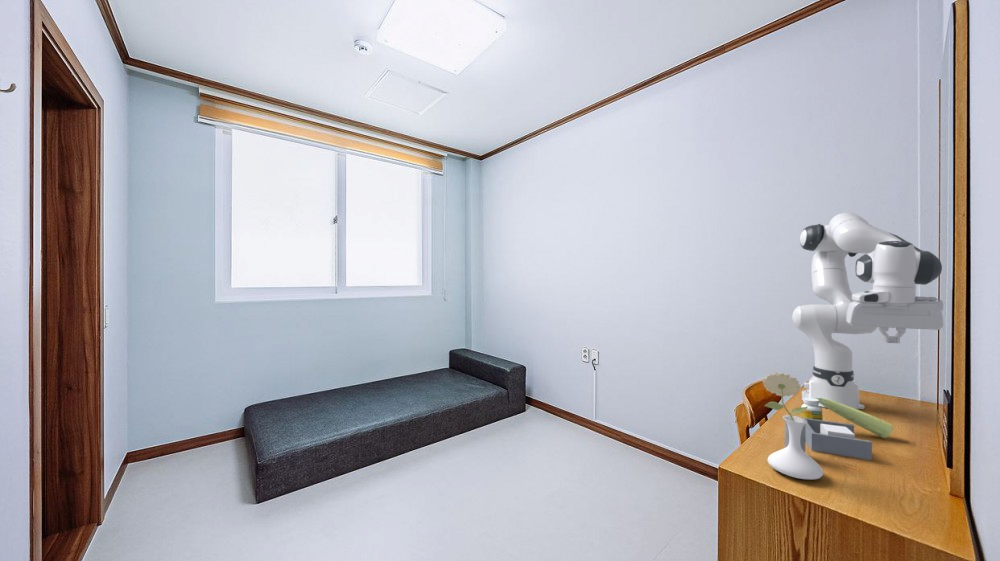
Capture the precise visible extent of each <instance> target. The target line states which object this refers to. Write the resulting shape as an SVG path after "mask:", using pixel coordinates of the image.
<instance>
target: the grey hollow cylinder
mask: <svg viewBox="0 0 1000 561" xmlns="http://www.w3.org/2000/svg"><path fill="white" fill-rule="evenodd" d="M805 441H806V424H805V425H804V426H803V428H802V431H801V437H800V445H801V448H802V450H803V451H804V452H805V453H806V442H805ZM788 445H789V429H788V425H787V423H786V421H785V420H784V448H786V447H787V446H788Z"/></svg>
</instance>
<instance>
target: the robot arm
mask: <svg viewBox="0 0 1000 561" xmlns="http://www.w3.org/2000/svg"><path fill="white" fill-rule="evenodd" d="M799 242H800V246H801V248H802V249H804V250H807V251H810V252H814V251H815V253H814V254H813V256H812V258H811V265H810V266H811V267H810V275H811V287H812V292H813V294H815V296H816V297H817V298H819V299H822V300H824V301H827V302H828V303H829V304H819V303H818V304H815V303H812V304H803V305H797V306H796V308H794V310H793V312H792V314H791V320H792V323H793V325H794V326H795V327H796V328H797V329H798V330H799V331H801V332H802V333H804V334H805V335H806V336H807V337H808V338H809V340H810V343H811V344H812V347H813V356H814V366H813V368H812V376H811V377H810V379H809V380H808V382H807V381H806V382H803V388H804V389H806V390H802V391H801V400H803V399H804V398H811V397H816V398H823V399H829V400H832V401H835V402H838V403H841V404H843V405H846V406H849V407H852V408H854V409H857V410H863V409H865V405H864V404H862V403H860V388H859V385H857V384H856V383H855V382H854V377H855V373H854V370H853V351H852V350H851V348H850V347H849V346H847V345H846V344H844V343H842V342H840V341H838V340H835V339H833V337H832V334H842V335H844V334H846V335H847V334H848V335H864V334H872V333H873V332H875V331H876V330H877V329H878V330H879V331H880V333H881V334H882V336H883V342H884V343H887V344H900V343H901V342H900V340H901V338H902V337H903V336H904V334H905V333H906V332H907V331H906V330H907V329H911V330H931V331H932V330H933V331H934V330H935V331H939V330H942V328H944V317H943V312H942V311H943V310H944V303H943V300H941V299H939V298H937V297H935V296H916V290H917V287H916V286H917V285H925V286H926V285H928V284H929V283H931V282H933V281H935V280H936V279H937V278H939V277H940V275H941V274H942V271H943V266H942V262H941V260H940V258H938V256H936V254H934V253H933V252H931V251H928V250H921V249H920V248H918V247H917V246H915V245H914V244H913V243H911V242H909V241H907V240H905V239H904V238H902V237H901V236H899V235H896V234H894V233H892V232H888V231H886V230H883V229H880V228H878V227H876V226H874V225H872V224H870V223H869V222H868V221H867V220H866V219H865V218H864V217H861V216H860V215H858V214H857V213H853V212H849V211H848V212H841V213H838V214H836V215H834V216H833V217H832V218H831V219H830V221H829V222H828V224H821V223H817V224H812V225H808V226H806V227H804V228H803V230H802V231H801V233H800V236H799ZM858 254H863V255H861V256H860V257H858V259H856V261H855V276H856V277H857V278H858V279H859V280H861V281H862V282H865V283H868V284H872V289H869V290H868V289H867V290H865V291H859V292H856V293H853V292H852V291H851V288H850V284H849V280H848V273H847V267H846V264H845V263H846V262H845V261H846V260H845V259H846V257H847V255H848V256H849V257H851V258H853V257H855V256H856V255H858ZM889 328H891V329H894V328H895V331H897V332H896V333H895V335H889V334H888V333H887V332H889ZM803 401H804V400H803ZM803 401H802V402H803ZM819 406H820V407H821V408H826V407H825V406H823V405H822V404H820V403H819Z"/></svg>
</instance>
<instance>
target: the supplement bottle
mask: <svg viewBox="0 0 1000 561" xmlns="http://www.w3.org/2000/svg"><path fill="white" fill-rule="evenodd" d="M803 400H804V401H802V402H803V404H802V405H801V407H800V408H802V407H807V406H808V407H807V409H806V410H805V411H804V412H802V413H801V417H802V418H809V419H816V420H824V419H823V407H822V406H819V400H818V399H815V398H804V399H803Z"/></svg>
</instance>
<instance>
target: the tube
mask: <svg viewBox="0 0 1000 561" xmlns="http://www.w3.org/2000/svg"><path fill="white" fill-rule="evenodd" d="M811 398H815V399H818V400H819V403H820V404H822V405H823V406H825V407H824V408H826V409H827V410H830V411H832V412H833V413H834V414H836V415H838V416H840V417H842V418H843V419H845V420H847V421H849V422H850V423H853V425H856V426H859V427H860V428H862V429H864V430H866V431H869V432H871V433H872V434H874V435H877V436H878V437H881V439H882V438H883V439H887V438H888V437H889V436H890V435H892V432H893V430H894V428H893V427H894V426H893V424H891V423H890V422H887V421H885V420H882V419H880V418H878V417H876V416H874V415H871V414H868V413H867V412H864V411H862V410H860V409H854V408H852V407H849V406H846V405H843V404H841V403H838V402H835V401H832V400H829V399H823V398H816V397H811Z"/></svg>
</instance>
